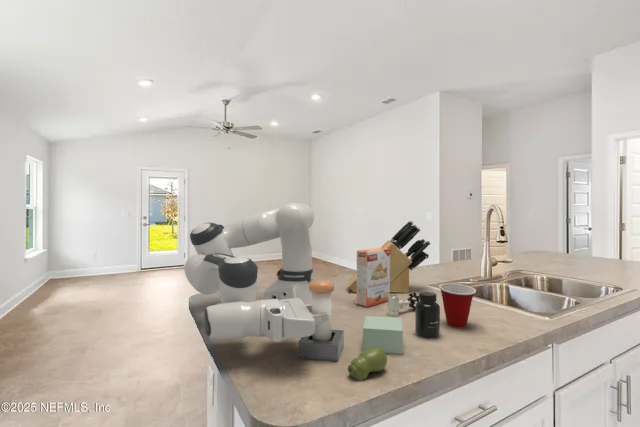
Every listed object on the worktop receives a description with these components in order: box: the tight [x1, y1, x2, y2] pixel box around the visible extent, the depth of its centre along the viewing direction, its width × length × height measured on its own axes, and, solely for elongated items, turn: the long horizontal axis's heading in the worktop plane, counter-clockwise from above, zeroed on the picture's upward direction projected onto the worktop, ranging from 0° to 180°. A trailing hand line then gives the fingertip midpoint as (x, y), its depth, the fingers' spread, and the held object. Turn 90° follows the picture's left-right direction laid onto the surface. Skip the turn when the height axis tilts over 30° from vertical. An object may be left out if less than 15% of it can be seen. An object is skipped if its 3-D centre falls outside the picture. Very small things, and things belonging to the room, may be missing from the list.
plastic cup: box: [438, 282, 477, 329], centre depth 107 cm, size 11×11×12 cm
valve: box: [386, 292, 420, 317], centre depth 120 cm, size 7×7×12 cm
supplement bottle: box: [414, 291, 441, 339], centre depth 99 cm, size 7×7×12 cm
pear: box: [347, 346, 388, 381], centre depth 77 cm, size 6×5×10 cm
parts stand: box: [362, 315, 404, 355], centre depth 92 cm, size 10×10×6 cm
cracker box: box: [356, 247, 391, 308], centre depth 132 cm, size 14×6×21 cm, turn 131°
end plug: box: [309, 279, 335, 341], centre depth 88 cm, size 6×6×18 cm
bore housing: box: [297, 329, 345, 362], centre depth 89 cm, size 10×10×4 cm
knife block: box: [347, 220, 431, 294], centre depth 151 cm, size 11×35×31 cm, turn 87°
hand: (325, 312), depth 89 cm, fingers closed on end plug, 5 cm apart
